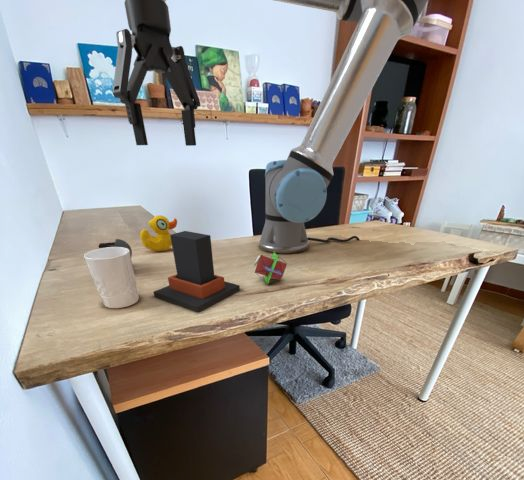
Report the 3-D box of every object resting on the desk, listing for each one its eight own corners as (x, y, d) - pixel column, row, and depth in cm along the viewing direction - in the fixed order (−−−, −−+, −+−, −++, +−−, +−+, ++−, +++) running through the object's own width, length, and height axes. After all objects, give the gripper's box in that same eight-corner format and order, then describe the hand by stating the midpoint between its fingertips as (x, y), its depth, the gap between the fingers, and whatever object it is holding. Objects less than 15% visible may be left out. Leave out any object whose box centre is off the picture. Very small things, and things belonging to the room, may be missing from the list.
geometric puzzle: (288, 266, 72) (269, 240, 68) (297, 275, 66) (277, 248, 62) (265, 284, 73) (245, 260, 69) (272, 295, 68) (251, 270, 63)
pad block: (192, 282, 66) (185, 230, 60) (215, 288, 63) (210, 235, 57) (179, 287, 63) (169, 234, 57) (202, 295, 60) (195, 239, 54)
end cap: (134, 275, 73) (127, 247, 69) (103, 278, 71) (94, 250, 68) (135, 263, 81) (128, 237, 77) (107, 266, 79) (99, 240, 75)
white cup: (100, 313, 56) (82, 261, 51) (101, 297, 62) (84, 249, 57) (143, 305, 59) (130, 255, 53) (140, 291, 65) (128, 245, 59)
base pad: (198, 278, 71) (196, 263, 69) (240, 290, 65) (239, 274, 63) (154, 296, 62) (150, 280, 60) (198, 312, 56) (195, 294, 54)
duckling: (180, 246, 95) (175, 212, 89) (182, 250, 91) (177, 216, 85) (143, 249, 92) (135, 215, 86) (144, 254, 88) (135, 218, 82)
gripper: (183, 25, 63) (196, 145, 75) (64, -21, 46) (106, 145, 58) (209, 17, 59) (219, 145, 71) (90, -35, 42) (129, 144, 54)
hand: (168, 145), depth 64 cm, fingers open, 13 cm apart
